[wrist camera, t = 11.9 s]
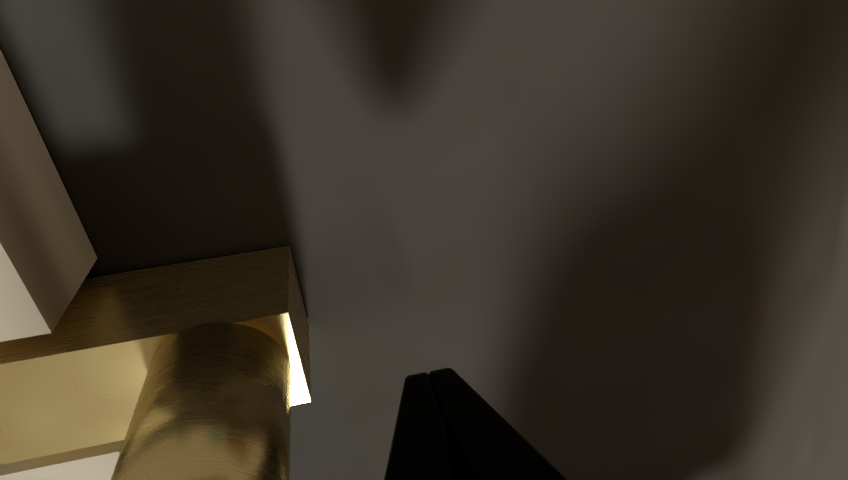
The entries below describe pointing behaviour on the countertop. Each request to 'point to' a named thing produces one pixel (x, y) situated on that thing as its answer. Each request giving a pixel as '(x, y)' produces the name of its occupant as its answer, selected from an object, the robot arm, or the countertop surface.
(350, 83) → the countertop surface
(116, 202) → the countertop surface
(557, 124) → the countertop surface
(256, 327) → the pin
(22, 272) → the dock
